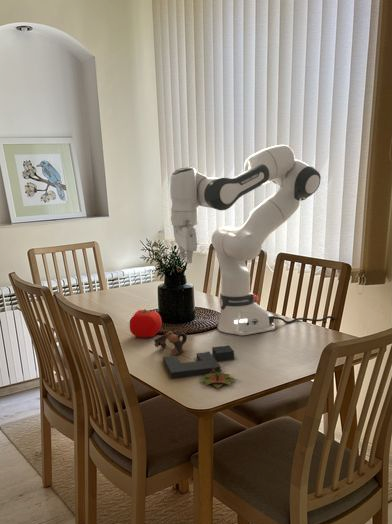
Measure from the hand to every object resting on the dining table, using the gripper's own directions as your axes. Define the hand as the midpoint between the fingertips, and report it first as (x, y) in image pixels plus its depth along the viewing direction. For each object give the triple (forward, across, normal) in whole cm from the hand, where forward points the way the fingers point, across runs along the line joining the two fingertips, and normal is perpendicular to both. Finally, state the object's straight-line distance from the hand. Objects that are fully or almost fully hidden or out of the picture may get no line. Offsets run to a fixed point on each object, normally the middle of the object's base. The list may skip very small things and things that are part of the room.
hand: (186, 260), depth 187 cm
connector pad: (+31, -14, -9) cm, 36 cm away
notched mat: (+31, -20, +4) cm, 37 cm away
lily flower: (+32, -33, -2) cm, 46 cm away
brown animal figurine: (+32, -3, +7) cm, 32 cm away
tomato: (+32, +16, +13) cm, 38 cm away
